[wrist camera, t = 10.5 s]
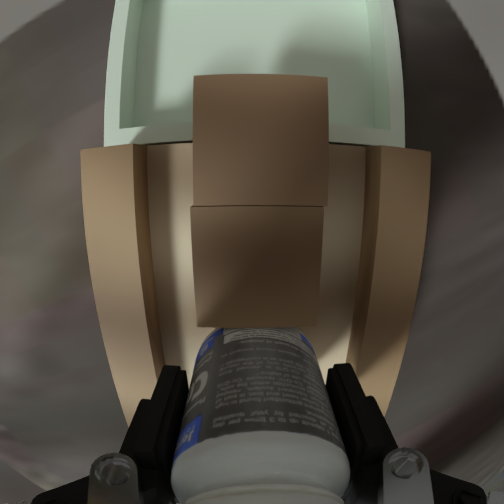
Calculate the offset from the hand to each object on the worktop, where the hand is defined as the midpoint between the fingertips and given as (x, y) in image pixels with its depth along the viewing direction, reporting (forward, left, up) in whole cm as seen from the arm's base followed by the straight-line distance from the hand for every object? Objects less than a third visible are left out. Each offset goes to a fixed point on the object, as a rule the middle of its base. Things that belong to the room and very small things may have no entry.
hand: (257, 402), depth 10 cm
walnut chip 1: (+8, 0, -3) cm, 9 cm away
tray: (+14, 0, -8) cm, 16 cm away
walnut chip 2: (+4, 0, -3) cm, 5 cm away
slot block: (+1, 0, -8) cm, 8 cm away
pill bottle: (0, 0, -2) cm, 2 cm away
